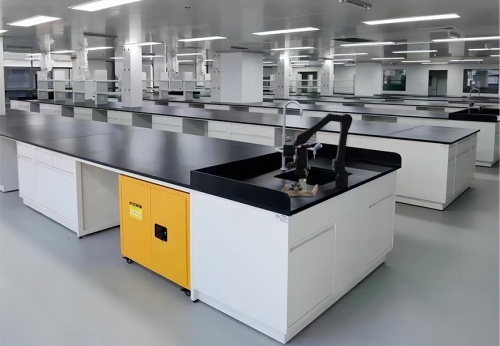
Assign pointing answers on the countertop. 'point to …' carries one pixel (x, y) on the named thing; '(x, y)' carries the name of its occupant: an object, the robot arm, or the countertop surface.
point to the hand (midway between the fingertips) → (302, 184)
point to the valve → (299, 185)
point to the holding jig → (299, 193)
